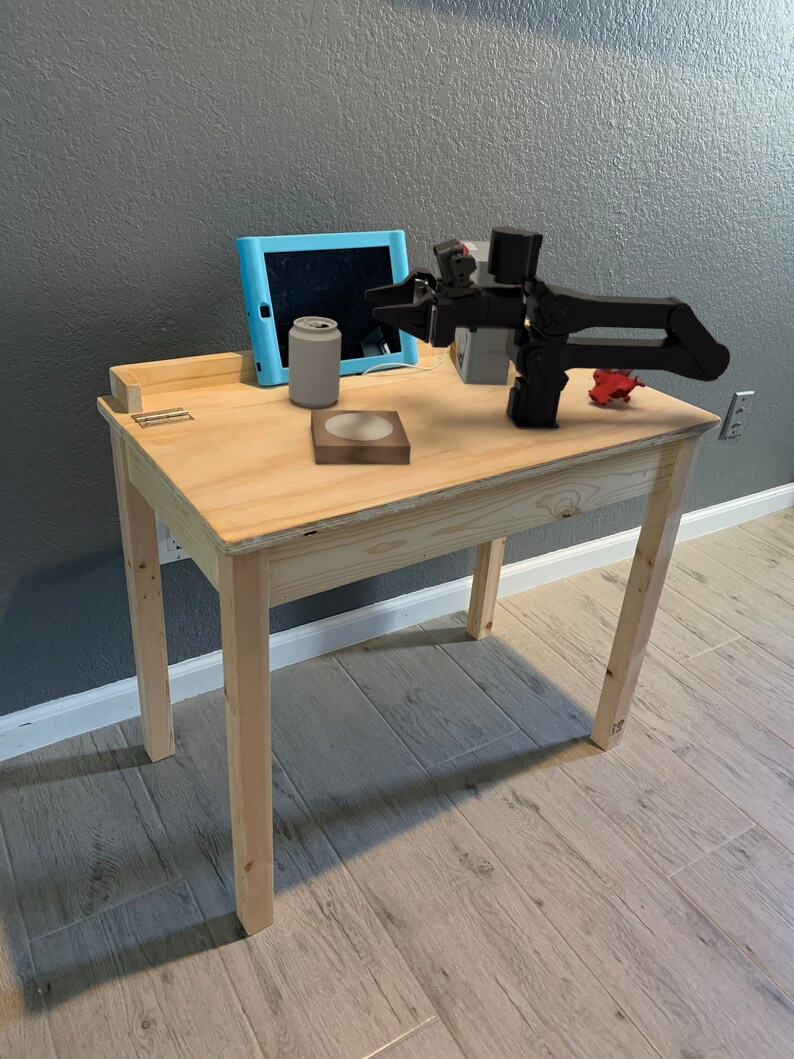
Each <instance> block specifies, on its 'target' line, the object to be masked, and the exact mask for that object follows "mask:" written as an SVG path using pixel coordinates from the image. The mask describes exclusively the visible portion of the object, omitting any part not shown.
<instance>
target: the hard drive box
mask: <svg viewBox="0 0 794 1059" xmlns="http://www.w3.org/2000/svg"><path fill="white" fill-rule="evenodd" d="M459 243H460V244H461V246H462V248H463V249H464V252H463V253H464V254H468V255H472V256H473V257H474V258H475V262H476V266H477V269H476V270H475V271H474V272H473V273H472V274H471V275H470V279H471V280H473V281H474V282H475V283H476V285H484V286H511V287H514V286H515V285H505V284H499V283H496V282H494V281H493V276H494V275H491V274H489V273H487V272H486V270H487V262H488V254H489V246H490V241H479V240H478V241H477V240H460V241H459ZM507 334H508V329H477V333H470V332H469V331H468V330H467V328H456V332H455V341H454V342H453V343H452V344H451V345H450V346H449V351H448V352H449V355H450V357H451V360H452V362H453V364H454V366H455V368H456V370H457V372H458V374H459V377H460V378H461V380H462V382H463V384H466V385H468V384H471V385H505V386H506V385H507V383H508V377H509V373H510V372H509V371H510V363H511V360H510V359H509V358H508V356H507V354H506V351H505V344H506V341H507V338H508V337H507Z"/></svg>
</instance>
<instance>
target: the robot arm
mask: <svg viewBox="0 0 794 1059" xmlns="http://www.w3.org/2000/svg"><path fill="white" fill-rule="evenodd" d="M543 239H544V235H543V234H542V233H540V232H539V231H530V230H525V229H522V228H516V227H514V226H509V225H508V226H507V225H506V226H505V225H502V226H501V225H500V226H492V227H491V230H490V237H489V242H490V246H489V254H488V262H487V270H486V272H487V273H489V274H491V275H494V276H493V281H494V282H496V283H499V284H505V285H515V286H514V287H511V286H484V285H476V283H475V282H474V281H473V280H471V279H470V275H471V274H472V273H473V272H474V271H475V270H476V269H477V266H476V262H475V258H474V257H473V256H472V255H468V254H464V253H463V252H464V249H463V248H462V246H461V244H460V241H459V240H457V239H456V238H452V239H449V240H446V241H443V242H440V243H437V244H434V245H432V251H433V255H434V256H435V257H436V261H437V266H438V269H439V274H440V276H436V277H435V275H433V273H432V272H431V271H430V270H429V269H428V267H414V268H413V269H412V270H410V271H409V272H408V274H407V276H406V277H405V278H404V279H403V280H401V281H400V282H395V283H393V284H389V285H388V284H387V285H383V286H380V287H376V288H372V289H366V290H365V293H364V298H365V299H366V300H367V301H369V302H372V303H374V304H376V305H380V306H381V307H380V306H379V307H374V308H373V310H372V317H373V318H375V319H377V320H378V321H380V322H383V323H384V324H385V323H386V324H387V325H389V326H392V327H394V328H395V329H398V330H400V331H402V332H404V333H406V334H408V335H409V336H412V337H413V338H416V339H418V340H420V341H421V342H423V343H424V344H427V345H428V344H430V345H431V347H432V348H437V349H438V348H439V349H441V348H443V349H447V348H448V347H450V345H451V344H452V343H453V342H454V341H455V332H456V328H467V330H468V331H469V332H470V333H477V329H508V334H507V337H508V338H507V341H506V344H505V351H506V354H507V356H508V358H509V359H510V362H512V363H513V365H514V369H515V371H516V372H517V373H518V374H519V376H515V377H514V383H513V386H511V387H510V388H509V393H508V394H509V395H508V402H507V407H506V412H505V413H506V414H507V415H508V417H509V419H510V420H511V421H512V423H513V424H514V426H515V427H516V428H519V429H559V428H560V424H559V423H558V421H557V417H558V416H557V415H558V410H559V405H560V400H561V399H560V398H561V393H562V392H563V391H564V389H565V388H566V387H567V384H568V382H569V381H570V377H569V375H568V374H567V373H566V372H567V371H569V370H573V369H582V370H583V369H585V370H586V369H587V370H589V369H590V370H591V369H592V370H596V369H627V370H633V371H635V370H636V371H639V370H640V371H664V372H669V373H671V374H674V375H678V376H680V377H683V378H687V379H690V380H691V379H692V380H695V381H700V382H705V383H706V382H707V383H709V382H714V381H716V380H718V379H719V377H721V376H722V375H723V374H725V372H726V370H727V369H728V367H729V365H730V363H731V362H730V361H731V353H730V350H729V348H728V346H727V345H725V344H724V343H721V341H718V340H716V339H715V338H714V336H713V335H712V334H711V333H710V332H709V331H708V329H707V328H706V327H705V326H704V324H703V323H702V322H701V321H700V320H699V319H698V317H697V315H696V314H695V312H694V311H693V308H692V306H690V305H689V304H688V303H686V302H685V301H683V300H681V299H680V298H677V297H676V296H668V297H647V296H645V297H644V296H642V297H641V296H619V295H596V294H595V295H594V294H590V293H589V294H588V293H584V292H581V291H578V290H575V289H571V288H569V287H568V288H567V287H565V286H560V285H556V284H551V283H545V282H546V281H544V280H543V279H542V278H541V277H539V276H538V275H537V269H538V264H539V257H540V250H541V248H542V245H543V242H544V241H543ZM524 297H525V302H524ZM526 317H527V318H528V324H529V325H528V324H526ZM590 328H591V329H592V328H617V329H618V328H620V329H621V328H623V329H646V330H647V329H648V330H651V329H653V330H663V331H664V333H665V335H666V337H663V338H659V339H656V338H655V339H654V338H652V339H651V338H625V337H624V338H619V337H617V338H616V337H589V336H588V337H587V336H584V337H581V336H580V337H577V336H570V334H577V333H579V332H581V331H585V330H587V329H590Z"/></svg>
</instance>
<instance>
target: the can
mask: <svg viewBox="0 0 794 1059" xmlns="http://www.w3.org/2000/svg"><path fill="white" fill-rule="evenodd" d="M337 327H338V322H336V321H335V320H333V319H331V318H329V317H328V318H326V317H321V316H320V317H319V316H303V317H299V318H297V319H296V318H295V319H294V321H293V326H292V327H291V328H290V330H289V331H288V396H289V398H290V399H292V400H293V401H294V403H295V404H297V406H301V407H305V408H311V409H312V408H313V409H319V408H326V407H329V406H331V405H333V404H334V402H336V401H337V400H338V399H339V398H340V382H341V380H340V376H341V359H342V358H341V357H342V356H341V354H342V353H341V352H342V348H341V347H342V333H341V331H340V330H339V329H338V328H337Z"/></svg>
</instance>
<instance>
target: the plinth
mask: <svg viewBox="0 0 794 1059" xmlns="http://www.w3.org/2000/svg"><path fill="white" fill-rule="evenodd" d="M310 430H311V436H312V438H311V439H312V445H313V452H314V453H313V454H314V459H315V460H314V461H315V464H316V465H410V461H411V459H410V458H411V451H412V450H411V448H412V447H411V446H412V445H411V443H410V441H409V438H408V435H407V433H406V430H405V427H404V425H403V423H402V420H401V417H400V415H399V412H398V410H368V409H367V410H360V409H359V410H358V409H356V410H355V409H354V410H353V409H351V410H350V409H311V410H310Z"/></svg>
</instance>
